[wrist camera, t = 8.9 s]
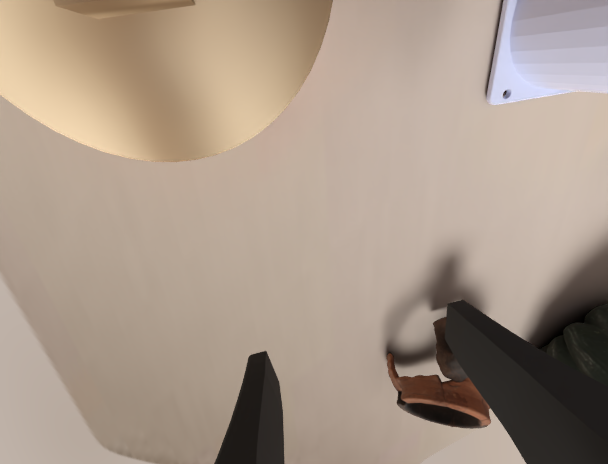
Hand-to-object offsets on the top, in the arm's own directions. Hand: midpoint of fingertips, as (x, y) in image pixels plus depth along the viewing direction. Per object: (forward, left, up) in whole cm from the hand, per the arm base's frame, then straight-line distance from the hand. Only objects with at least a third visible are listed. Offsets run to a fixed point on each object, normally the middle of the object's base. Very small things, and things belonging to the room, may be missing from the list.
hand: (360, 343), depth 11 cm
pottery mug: (-10, +15, -10) cm, 21 cm away
